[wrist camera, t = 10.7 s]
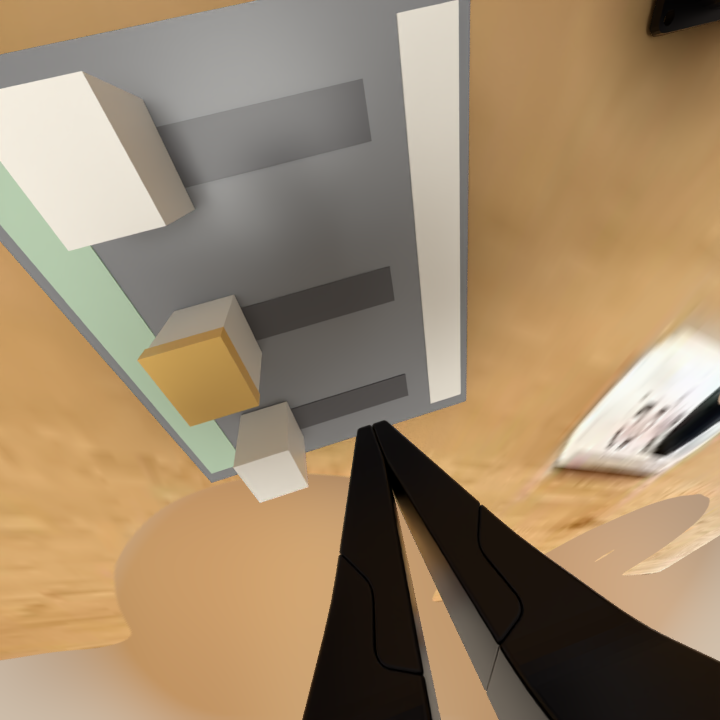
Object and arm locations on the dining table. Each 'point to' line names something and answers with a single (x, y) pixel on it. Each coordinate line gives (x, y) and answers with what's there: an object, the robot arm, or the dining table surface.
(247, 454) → the block
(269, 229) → the panel
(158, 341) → the block
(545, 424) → the dining table surface
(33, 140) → the block
